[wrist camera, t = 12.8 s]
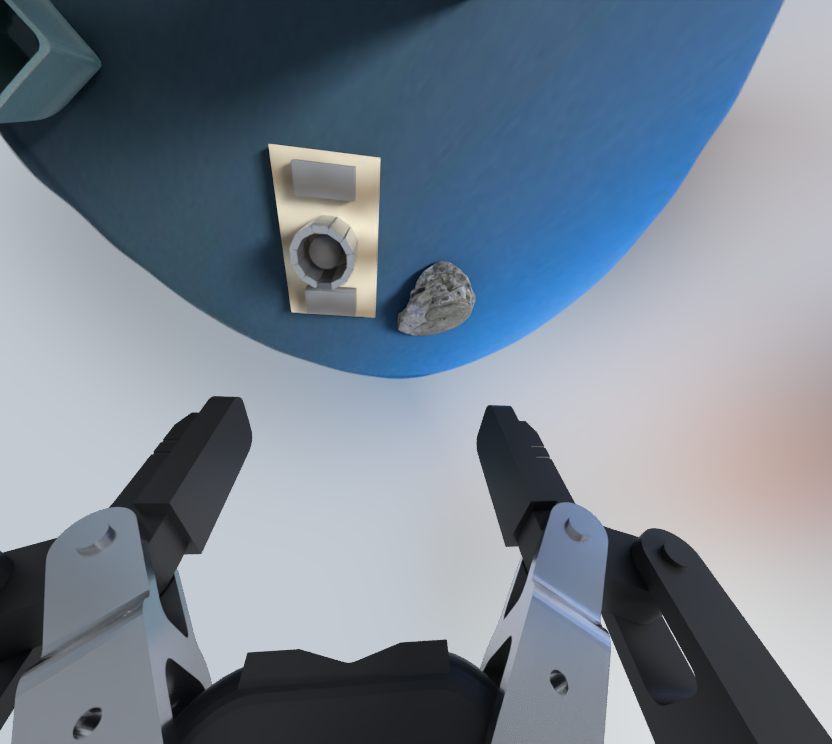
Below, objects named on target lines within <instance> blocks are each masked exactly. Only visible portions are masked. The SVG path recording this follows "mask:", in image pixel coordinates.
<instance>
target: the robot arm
mask: <svg viewBox="0 0 832 744" xmlns="http://www.w3.org/2000/svg"><path fill="white" fill-rule="evenodd" d="M251 443H252V431H251V427H250V424H249V420H248V417H247V413H246V410H245V406H244V403H243V400H242V399H241V398H240V397H221V396H214V397H211V398H210V399H209V400H208V401H207V403H206V404H205V405H204V407H203V408H202V409H201V411H200V412H199V413H191V414H189V415H188V416H186V417H185V418H184V419H182V420H181V421H179V422H178V423H176V424H175V425H174V427H173V428H172V429H171V430H170V431H169V433H168V434H167V435H166V436H165V438H164V439H163V442H161V443H160V444H159V445H158V447H157V448H156V449H155V450H154V454H153V455H151V456H150V457H149V458H148V459H147V461H146V462H145V463H144V464H143V466H142V467H141V468H140V470H139V471H138V472H137V473H136V475H135V476H134V477H133V478H132V480H131V481H130V482H129V484H128V485H127V486H126V487H125V489H124V490H123V491H122V492H121V494H120V495H119V496H118V497H117V499H116V500H115V501H114V503H113V504H112V505H111V506H110V507H109V508H107V509H103V510H99V511H97V512H94V513H92V514H90V515H88V516H86V517H84V518H82V519H80V520H79V521H77V522H75V523H74V524H73V525H71V526H70V527H69V528H67V529H66V530H65V531H64V532H63V533H62V534H61V535H60V536H59V537H58V538H55V539H52V540H48V541H44V542H40V543H37V544H33V545H30V546H26V547H22V548H19V549H15V550H11V551H7V552H4V553H2V552H1V551H0V730H1V728H2V727H3V725H4V723H5V722H6V720H7V719H8V717H9V715H10V714H11V712H12V711H13V709H14V720H13V731H12V743H11V744H604V733H605V720H606V707H607V694H608V679H609V667H610V654H611V642H610V636H611V638H612V641H613V643H614V645H615V648H616V650H617V653H618V655H619V657H620V660H621V662H622V664H623V667H624V669H625V672H626V674H627V677H628V679H629V681H630V684H631V686H632V689H633V691H634V693H635V696H636V698H637V701H638V703H639V705H640V708H641V710H642V712H643V715H644V717H645V720H646V722H647V725H648V727H649V729H650V731H651V734H652V736H653V739H654V741H655V744H832V739H831V737H830V736H829V735H828V734H827V732H826V730H825V729H824V728H823V726H822V725H821V724H820V722H819V721H818V719H817V718H816V717H815V715H814V714H813V713H812V711H811V710H810V708H809V707H808V706H807V704H806V703H805V701H804V700H803V699H802V697H801V696H800V695H799V693H798V692H797V690H796V689H795V688H794V687H793V685H792V683H791V682H790V681H789V679H788V678H787V677H786V675H785V674H784V672H783V671H782V670H781V668H780V667H779V666H778V664H777V663H776V661H775V660H774V659H773V657H772V656H771V655H770V653H769V652H768V650H767V649H766V648H765V646H764V645H763V643H762V642H761V641H760V639H759V638H758V637H757V635H756V634H755V632H754V631H753V630H752V628H751V627H750V625H749V624H748V623H747V621H746V620H745V618H744V617H743V616H742V615H741V613H740V612H739V610H738V609H737V607H736V606H735V605H734V603H733V602H732V601H731V599H730V598H729V597H728V595H727V594H726V592H725V591H724V590H723V588H722V587H721V585H720V584H719V583H718V581H717V580H716V578H715V577H714V576H713V574H712V573H711V572H710V570H709V569H708V567H707V566H706V565H705V563H704V562H703V560H702V559H701V558H700V556H699V555H698V554H697V553H696V552H695V551H694V549H693V548H692V547H690V546H689V545H688V544H687V543H686V542H684V541H683V540H682V539H680V538H679V537H677V536H676V535H674V534H672V533H670V532H668V531H665V530H662V529H656V528H652V529H648V530H646V531H645V532H644V533H643V534H642V535H641V536H640V537H636V536H633V535H630V534H626V533H623V532H620V531H616V530H613V529H610V528H607V527H604V526H603V525H602V524H601V522H600V521H599V520H598V519H597V518H596V517H595V516H594V515H593V514H592V513H591V512H590V511H588V510H587V509H585V508H583V507H582V506H579V505H577V504H575V502H574V501H573V499H572V497H571V495H570V493H569V491H568V489H567V488H566V486H565V484H564V482H563V480H562V478H561V476H560V474H559V473H558V471H557V469H556V467H555V465H554V463H553V461H552V460H551V459H550V456H549V454H548V452H547V450H546V448H544V445H543V443H542V441H541V439H540V437H539V435H538V434H537V432H536V431H535V430H534V429H533V428H532V427H531V426H530V425H529V424H528V423H527V422H526V421H519V420H518V418H517V416H516V414H515V412H514V410H513V409H512V407H511V406H496V405H495V406H493V405H489V406H487V408H486V410H485V414H484V416H483V420H482V423H481V426H480V429H479V432H478V436H477V452H478V456H479V459H480V463H481V466H482V469H483V473H484V476H485V479H486V482H487V486H488V489H489V493H490V496H491V499H492V502H493V506H494V509H495V512H496V516H497V519H498V523H499V525H500V529H501V532H502V536H503V539H504V542H505V546H506V547H511V546H519V549H520V552H521V555H522V557H521V559H520V561H519V564H518V567H517V570H516V573H515V576H514V578H513V581H512V584H511V587H510V591H509V593H508V596H507V599H506V602H505V605H504V608H503V611H502V614H501V617H500V620H499V622H498V625H497V627H496V629H495V631H494V633H493V636H492V638H491V640H490V642H489V645H488V647H487V650H486V653H485V655H484V658H483V661H482V664H481V667H480V669H479V668H478V667H476V666H475V665H473V664H472V663H471V662H469V661H467V660H466V659H464V658H462V657H460V656H458V655H456V654H453V653H449V652H448V647H447V640H435V641H434V640H433V641H418V642H404V643H399V644H396V645H394V646H391V647H389V648H387V649H384V650H382V651H380V652H378V653H375V654H372V655H370V656H367V657H365V658H363V659H360V660H358V661H355V662H352V663H345V662H341V661H338V660H334V659H331V658H328V657H324V656H321V655H317V654H314V653H311V652H307V651H303V650H300V649H296V650H281V651H266V652H250V653H247V657H246V660H245V664H244V667H243V668H241V669H238V670H236V671H234V672H232V673H230V674H229V675H227V676H225V677H223V678H222V679H220V680H219V681H217V682H216V683H214V684H213V685H212V682H211V678H210V674H209V671H208V668H207V665H206V662H205V660H204V657H203V655H202V653H201V651H200V649H199V647H198V645H197V642H196V639H195V636H194V632H193V628H192V624H191V620H190V616H189V612H188V608H187V604H186V600H185V596H184V592H183V589H182V584H181V580H180V576H179V572H178V570H177V567H178V565H179V563H180V561H181V559H182V557H183V555H184V554H201V553H202V551H203V549H204V547H205V545H206V542H207V540H208V538H209V536H210V534H211V532H212V529H213V527H214V525H215V523H216V521H217V519H218V517H219V514H220V512H221V510H222V508H223V506H224V504H225V502H226V500H227V497H228V495H229V493H230V491H231V489H232V487H233V485H234V482H235V480H236V478H237V476H238V474H239V471H240V470H241V467H242V465H243V463H244V461H245V459H246V457H247V454H248V452H249V450H250V447H251ZM601 614H602V617H603V619H604V621H605V624H606V626H607V629H608V631H609V633H610V636H609V633H608V631H607V630H606V629H604V628H603V627H602V625H601ZM662 615H663V616H664V618H665V620H666V622H667V624H668V625H669V627H670V629H671V631H672V633H673V634H674V636H675V638H676V640H677V641H678V644H679V645H680V647H681V649H682V651H683V652H684V654H685V656H686V658H687V660H688V662H689V663H690V665H691V667H692V669H693V671H694V674H695V676H694V674H693V672H692V670H691V668H690V666H689V665H688V663H687V661H686V659H685V657H684V656H683V654H682V652H681V650H680V648H679V647H678V645H677V643H676V641H675V639H674V637H673V635H672V634H671V632H670V630H669V628H668V626H667V624H666V623H665V621H664V619H663V617H662Z"/></svg>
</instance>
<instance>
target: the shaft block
mask: <svg viewBox="0 0 832 744" xmlns="http://www.w3.org/2000/svg"><path fill="white" fill-rule="evenodd" d="M268 146H269V153H270V160H271V167H272V175H273V182H274V189H275V196H276V204H277V211H278V218H279V225H280V233H281V240H282V247H283V254H284V262H285V269H286V276H287V283H288V291H289V298H290V305H291V312H293V313H309V314H325V315H341V316H357V317H373V318H375V314H376V287H377V255H378V223H379V191H380V160H381V158H379V157H371V156H363V155H355V154H347V153H339V152H331V151H324V150H316V149H308V148H300V147H292V146H284V145H276V144H268ZM322 215H328V216H337V218H338V217H339V218H340V219H342V220H343V221H345V222H346V223H347V224H349V225H350V226H349V227H352V229H353V231H354V233H355V235H356V237H357V239H358V240H357V241H358V257H357V260H356V264H355V267H354V271H353V272H352V274H351V276H350V277H349V279H348V281H347V282H346V283H345V284H344V285H342V286H339V287H337V288H335V289H332V290H326V289H317V287H316V288H314V287H312V286H311V285H309V284H307V283H306V282H304V281H302V280H303V278H302V279H300V277H299V276H298V274H297V273H296V271H295V270H294V269H293V267H292V264H291V259H290V252H289V249H290V245H291V243H292V241H293V239H294V236H295V234H296V233H297V232H298V231H299V230H300V229H302V228H303V227H304V226H305V225H306V224H307V223H308V222H310V221H311V220H313V219H315V218H317V217H319V216H322ZM309 241H310V248H309V254H310V257H311V259H312V261H313V262H314V263H315V264H316V265H317V266H319V267H321V268H324V269H330V268H333V267H334V266H336V267H338V266H340V265H342V264H344V263H346V262H347V255H346V253H345V251H344V249H343V248H342V246H341V244H340V242H338V241H337V240H335V239H334V238H332V237H331V236H329V235H328V234H319V233H313V234H311V235H310V237H309Z"/></svg>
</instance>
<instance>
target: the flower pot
mask: <svg viewBox="0 0 832 744" xmlns="http://www.w3.org/2000/svg"><path fill="white" fill-rule="evenodd" d="M100 67H101V61H100V59H99V58H98V57H97V55H96V54H95V53H94V52H93V50H92V49H91V48H90V47H89V46H88V45H87V44H86V42H85V41H84V40H83V39H82V38H81V37H80V36H79V34H78V33H77V32H76V31H75V30H74V29H73V27H72V26H71V25H70V24H69V23H68V22H67V20H66V19H65V18H64V17H63V16H62V15H61V13H60V12H59V11H58V10H57V9H56V8H55V6H54V5H53V4H52V3H51V2H50V0H0V123H12V122H26V121H36V120H41V119H45V118H48V117H50V116H52V115H54V114H56V113H57V112H59V111H60V110H61V109H62V108H64V107H65V106H66V105H67V104H68V103H69V101H70V100H71V99H72V98H73V97H74V96H75V95H76V94H77V93H78V92H79V91H80V89H81V88H82V87H83V86H84V85H85V84H86V83H87V82H88V81H89V80H90V79H91V77H92V76H93V75H94V74H95V73H96V72H97V71H98V70H99V69H100Z"/></svg>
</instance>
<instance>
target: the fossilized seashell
mask: <svg viewBox="0 0 832 744" xmlns="http://www.w3.org/2000/svg"><path fill="white" fill-rule="evenodd" d="M470 285H471V282H470V281H469V279H468V276H466V275H465V274H464V273H463V272H462V271H461V270H460V269H459V268H457V267H456V266H455V265H454V264H451V263H448V262H445V261H444V262H442V261H440V262H437V263H436V264H434V265H432V266H431V267H429V268H428V269H426V270H425V271H424V272H423V273H422V274H421V276H420V277H419V278H418V280H417V282H416V285H415V289H413V290H412V291H411V294H410V296H411V297H410V299H409V300H410V301H409V302H408V304H407V307H406V308H405V309H404V310H403V311H402V312H400V313H399V314H398V322H397V323H398V328H399V329H398V330H399V331H401V332H403V333H406V334H411V335H413V336H425V335H433V334H438V333H441V332H445V331H447V330H450V329H452V328H455V327H457V326H459V325H460V324H462V323H463V322H464V321H465V320H466V319H467V318H468V317H469V316H470V315H471V312H472V309H473V306H474V303H475V300H476V296H475V294H474V293H473V291H472V287H471V286H470Z"/></svg>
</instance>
